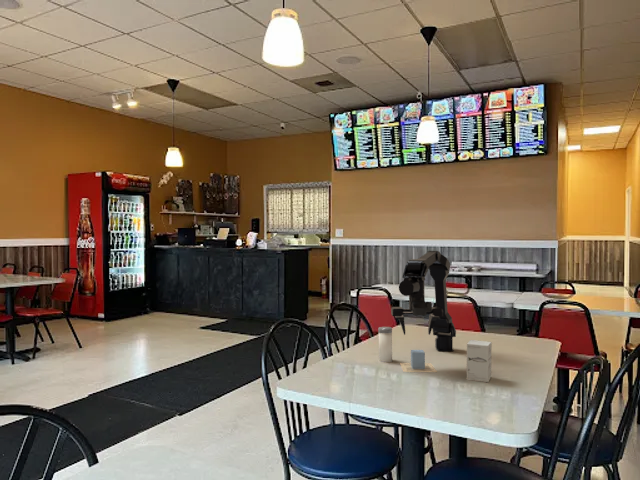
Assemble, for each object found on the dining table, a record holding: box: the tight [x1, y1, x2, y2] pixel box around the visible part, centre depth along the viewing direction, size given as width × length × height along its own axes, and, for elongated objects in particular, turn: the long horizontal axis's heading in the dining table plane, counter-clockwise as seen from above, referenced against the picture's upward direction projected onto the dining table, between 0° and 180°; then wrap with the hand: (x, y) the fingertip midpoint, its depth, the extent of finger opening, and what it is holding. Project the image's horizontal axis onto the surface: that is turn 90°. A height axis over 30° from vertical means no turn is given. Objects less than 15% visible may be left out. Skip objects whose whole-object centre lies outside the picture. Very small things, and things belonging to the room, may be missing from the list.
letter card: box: [399, 362, 438, 373], centre depth 182 cm, size 12×12×1 cm
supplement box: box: [466, 339, 493, 383], centre depth 169 cm, size 7×7×13 cm
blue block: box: [410, 349, 426, 369], centre depth 182 cm, size 4×4×6 cm
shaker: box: [377, 326, 393, 363], centre depth 193 cm, size 5×5×13 cm
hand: (416, 334), depth 184 cm, fingers open, 9 cm apart
